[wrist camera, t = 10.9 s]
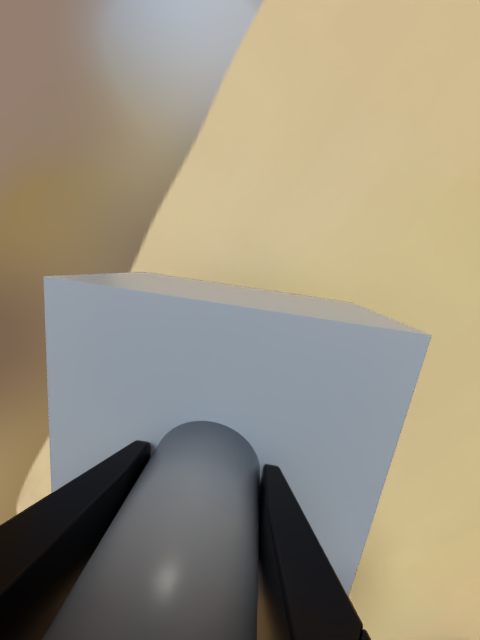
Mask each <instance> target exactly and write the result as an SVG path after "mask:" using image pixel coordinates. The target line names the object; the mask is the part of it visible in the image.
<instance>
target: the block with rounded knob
mask: <svg viewBox="0 0 480 640" xmlns="http://www.w3.org/2000/svg"><path fill="white" fill-rule="evenodd" d="M44 300H45V328H46V355H47V382H48V407H49V408H48V410H49V437H50V464H51V491H52V492H54V491H56V490H57V489H59V488H60V487H62V486H64V485H65V484H67V483H68V482H70V481H72V480H73V479H75V478H76V477H78V476H80V475H81V474H83V473H84V472H86V471H87V470H89V469H91V468H92V467H94V466H95V465H97V464H99V463H100V462H102V461H103V460H105V459H107V458H108V457H110V456H111V455H113V454H115V453H116V452H118V451H119V450H121V449H122V448H124V447H126V446H127V445H129V444H130V443H132V442H134V441H136V440H141V441H147V442H150V444H151V458H150V459H149V461H148V463H147V464H146V466H145V468H144V469H143V471H142V473H141V474H140V476H139V478H138V479H137V481H136V483H135V484H134V486H133V488H132V489H131V491H130V493H129V494H128V496H127V498H126V499H125V501H124V503H123V504H122V506H121V508H120V509H119V511H118V513H117V514H116V516H115V518H114V519H113V521H112V523H111V524H110V526H109V528H108V529H107V531H106V533H105V534H104V536H103V538H102V539H101V541H100V543H99V544H98V546H97V548H96V549H95V551H94V553H93V554H92V556H91V558H90V559H89V561H88V563H87V564H86V566H85V568H84V569H83V571H82V573H81V574H80V576H79V578H78V579H77V581H76V583H75V584H74V586H73V588H72V589H71V591H70V593H69V594H68V596H67V598H66V599H65V601H64V603H63V604H62V606H61V608H60V609H59V611H58V613H57V614H56V616H55V618H54V619H53V621H52V623H51V624H50V626H49V628H48V629H47V631H46V633H45V634H44V636H43V638H42V639H41V640H257V604H258V559H259V514H260V482H261V477H262V471H263V467H264V465H265V464H270V465H276V466H278V467H279V468H280V469H281V471H282V473H283V475H284V477H285V479H286V481H287V482H288V484H289V486H290V488H291V490H292V492H293V494H294V496H295V498H296V499H297V501H298V503H299V505H300V507H301V509H302V511H303V513H304V514H305V516H306V518H307V520H308V522H309V524H310V526H311V528H312V529H313V531H314V533H315V535H316V537H317V539H318V541H319V543H320V545H321V546H322V548H323V550H324V552H325V554H326V556H327V558H328V560H329V561H330V563H331V565H332V567H333V569H334V571H335V573H336V575H337V577H338V578H339V580H340V582H341V584H342V586H343V588H344V590H345V592H346V593H347V595H348V596H349V593H350V589H351V586H352V583H353V580H354V577H355V574H356V571H357V567H358V564H359V561H360V558H361V555H362V552H363V549H364V546H365V542H366V539H367V536H368V533H369V530H370V527H371V524H372V521H373V517H374V514H375V511H376V508H377V505H378V502H379V499H380V495H381V492H382V489H383V486H384V483H385V480H386V477H387V474H388V470H389V467H390V464H391V461H392V458H393V455H394V452H395V448H396V445H397V442H398V439H399V436H400V433H401V430H402V427H403V423H404V420H405V417H406V414H407V411H408V408H409V405H410V402H411V398H412V395H413V392H414V389H415V386H416V383H417V380H418V376H419V373H420V370H421V367H422V364H423V361H424V358H425V355H426V351H427V348H428V345H429V342H430V339H431V336H432V335H430V334H427V333H425V332H422V331H420V330H417V329H415V328H412V327H410V326H408V325H405V324H403V323H400V322H398V321H395V320H393V319H391V318H388V317H386V316H383V315H381V314H378V313H376V312H373V311H371V310H369V309H366V308H364V307H361V306H359V305H356V304H354V303H351V302H345V301H338V300H331V299H324V298H317V297H311V296H304V295H297V294H290V293H283V292H276V291H270V290H263V289H256V288H249V287H242V286H236V285H229V284H222V283H215V282H208V281H201V280H195V279H188V278H181V277H174V276H167V275H161V274H154V273H147V272H135V273H112V274H88V275H65V276H44Z"/></svg>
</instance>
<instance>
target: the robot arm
mask: <svg viewBox="0 0 480 640" xmlns="http://www.w3.org/2000/svg"><path fill="white" fill-rule="evenodd" d="M150 458H151V444H150V442H147V441H141V440H136V441H134V442H132V443H130V444H129V445H127V446H126V447H124V448H122V449H121V450H119V451H118V452H116V453H115V454H113V455H111V456H110V457H108V458H107V459H105V460H103V461H102V462H100V463H99V464H97V465H95V466H94V467H92V468H91V469H89V470H87V471H86V472H84V473H83V474H81V475H80V476H78V477H76V478H75V479H73V480H72V481H70V482H68V483H67V484H65V485H64V486H62V487H60V488H59V489H57V490H56V491H54V492H52V493H51V494H49V495H48V496H46V497H44V498H43V499H41V500H40V501H38V502H37V503H35V504H33V505H32V506H30V507H29V508H27V509H25V510H24V511H22V512H21V513H19V514H17V515H16V516H14V517H13V518H11V519H10V520H8V521H6V522H5V523H3V524H2V525H0V640H41V639H42V638H43V636H44V634H45V633H46V631H47V629H48V628H49V626H50V624H51V623H52V621H53V619H54V618H55V616H56V614H57V613H58V611H59V609H60V608H61V606H62V604H63V603H64V601H65V599H66V598H67V596H68V594H69V593H70V591H71V589H72V588H73V586H74V584H75V583H76V581H77V579H78V578H79V576H80V574H81V573H82V571H83V569H84V568H85V566H86V564H87V563H88V561H89V559H90V558H91V556H92V554H93V553H94V551H95V549H96V548H97V546H98V544H99V543H100V541H101V539H102V538H103V536H104V534H105V533H106V531H107V529H108V528H109V526H110V524H111V523H112V521H113V519H114V518H115V516H116V514H117V513H118V511H119V509H120V508H121V506H122V504H123V503H124V501H125V499H126V498H127V496H128V494H129V493H130V491H131V489H132V488H133V486H134V484H135V483H136V481H137V479H138V478H139V476H140V474H141V473H142V471H143V469H144V468H145V466H146V464H147V463H148V461H149V459H150ZM362 629H363V624H362V622H361V620H360V618H359V616H358V614H357V612H356V610H355V609H354V607H353V605H352V603H351V601H350V599H349V597H348V595H347V593H346V592H345V590H344V588H343V586H342V584H341V582H340V580H339V578H338V577H337V575H336V573H335V571H334V569H333V567H332V565H331V563H330V561H329V560H328V558H327V556H326V554H325V552H324V550H323V548H322V546H321V545H320V543H319V541H318V539H317V537H316V535H315V533H314V531H313V529H312V528H311V526H310V524H309V522H308V520H307V518H306V516H305V514H304V513H303V511H302V509H301V507H300V505H299V503H298V501H297V499H296V498H295V496H294V494H293V492H292V490H291V488H290V486H289V484H288V482H287V481H286V479H285V477H284V475H283V473H282V471H281V469H280V468H279V467H278V466H276V465H270V464H265V465H264V467H263V471H262V477H261V482H260V514H259V559H258V604H257V640H371V638H370V636H369V635H368V633H367V631H366V630H365V629H363V630H362Z"/></svg>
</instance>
